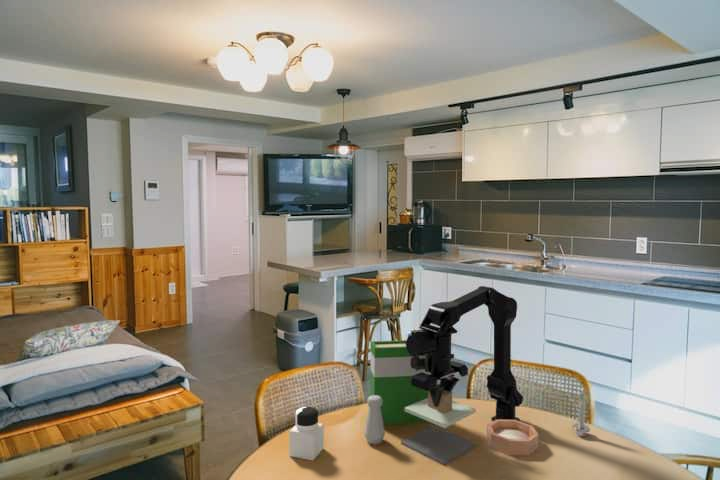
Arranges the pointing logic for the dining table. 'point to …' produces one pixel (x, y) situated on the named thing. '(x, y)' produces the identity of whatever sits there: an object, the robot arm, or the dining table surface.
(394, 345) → the hardback book
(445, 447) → the mat
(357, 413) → the dining table surface
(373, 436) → the salt shaker
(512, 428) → the bowl
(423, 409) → the lid
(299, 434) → the medicine bottle
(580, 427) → the screw
